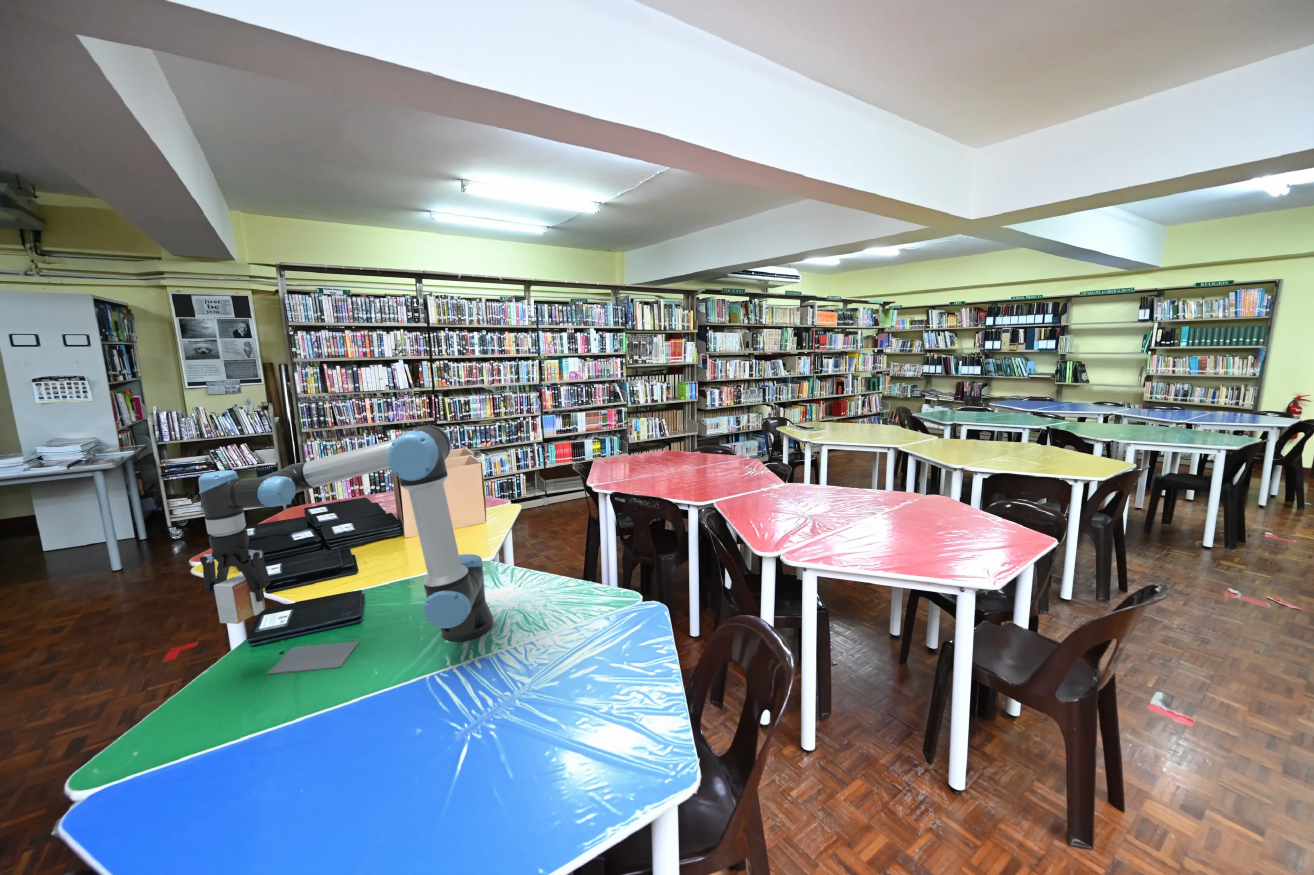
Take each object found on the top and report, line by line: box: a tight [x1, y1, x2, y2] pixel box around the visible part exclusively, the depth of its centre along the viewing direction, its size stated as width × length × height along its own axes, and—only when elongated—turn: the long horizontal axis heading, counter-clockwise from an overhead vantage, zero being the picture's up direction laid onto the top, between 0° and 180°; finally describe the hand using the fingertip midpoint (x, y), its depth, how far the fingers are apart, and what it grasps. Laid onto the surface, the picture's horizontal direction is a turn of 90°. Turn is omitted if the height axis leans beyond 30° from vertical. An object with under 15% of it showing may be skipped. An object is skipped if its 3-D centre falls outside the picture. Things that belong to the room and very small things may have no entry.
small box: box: [214, 572, 266, 625], centre depth 131 cm, size 8×6×10 cm
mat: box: [267, 640, 360, 676], centre depth 141 cm, size 18×12×1 cm, turn 98°
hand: (243, 613), depth 132 cm, fingers closed on small box, 7 cm apart
